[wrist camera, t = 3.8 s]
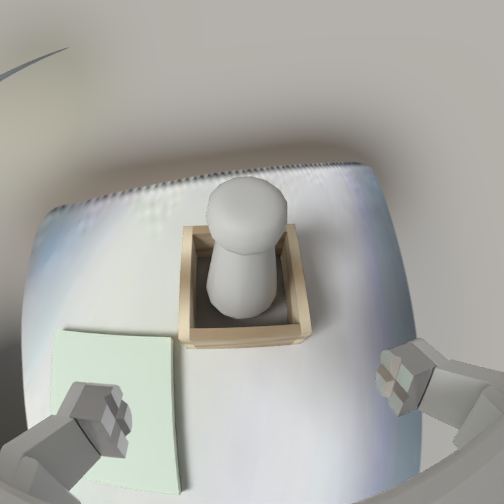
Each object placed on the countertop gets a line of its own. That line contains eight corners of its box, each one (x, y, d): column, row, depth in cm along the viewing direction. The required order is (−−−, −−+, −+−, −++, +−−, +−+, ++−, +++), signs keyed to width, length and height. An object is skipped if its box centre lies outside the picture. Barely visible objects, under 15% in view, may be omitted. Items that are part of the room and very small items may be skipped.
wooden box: (299, 343, 23) (312, 333, 19) (187, 348, 22) (178, 339, 19) (287, 247, 28) (294, 223, 24) (189, 249, 27) (183, 226, 23)
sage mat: (181, 492, 15) (179, 495, 14) (60, 467, 14) (55, 468, 13) (173, 339, 22) (170, 337, 21) (59, 332, 21) (54, 329, 20)
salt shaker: (283, 313, 24) (327, 230, 13) (221, 335, 23) (209, 266, 12) (258, 258, 27) (277, 152, 15) (200, 276, 25) (179, 173, 14)
